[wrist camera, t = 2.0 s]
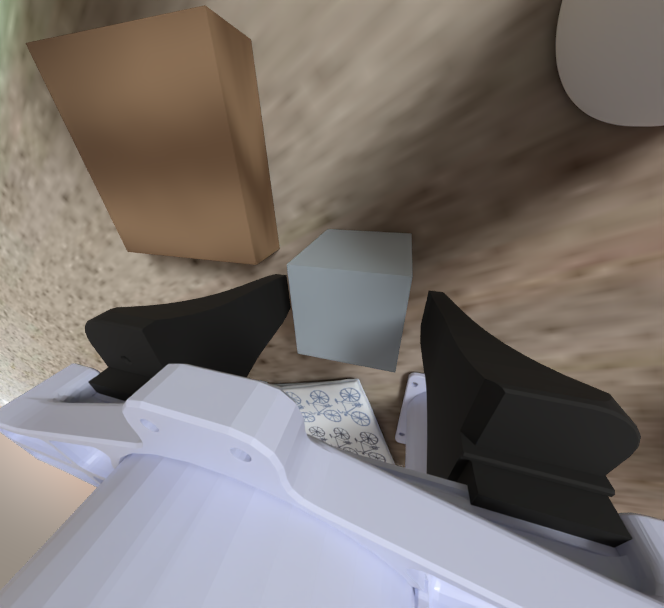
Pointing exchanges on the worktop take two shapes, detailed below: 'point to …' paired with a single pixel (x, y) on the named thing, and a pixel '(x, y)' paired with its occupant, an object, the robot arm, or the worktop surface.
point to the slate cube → (352, 296)
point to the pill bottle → (613, 59)
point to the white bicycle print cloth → (340, 416)
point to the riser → (169, 132)
